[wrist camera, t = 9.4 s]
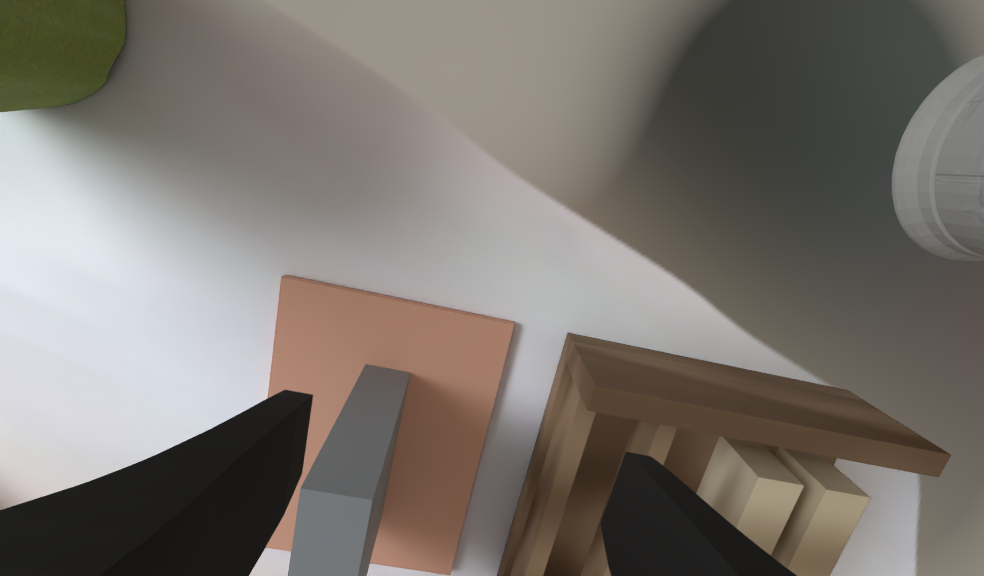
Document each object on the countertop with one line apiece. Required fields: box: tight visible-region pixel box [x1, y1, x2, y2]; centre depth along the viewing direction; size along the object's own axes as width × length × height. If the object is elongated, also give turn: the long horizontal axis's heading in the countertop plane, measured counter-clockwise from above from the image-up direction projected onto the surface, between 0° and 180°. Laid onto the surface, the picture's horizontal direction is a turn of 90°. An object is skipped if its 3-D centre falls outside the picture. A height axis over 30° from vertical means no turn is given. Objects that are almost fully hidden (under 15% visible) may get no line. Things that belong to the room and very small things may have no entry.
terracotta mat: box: [265, 275, 514, 575], centre depth 22 cm, size 14×10×1 cm
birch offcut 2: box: [771, 447, 870, 576], centre depth 21 cm, size 8×2×3 cm, turn 167°
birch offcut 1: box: [696, 436, 804, 555], centre depth 21 cm, size 8×2×3 cm, turn 167°
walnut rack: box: [497, 333, 951, 576], centre depth 21 cm, size 14×14×5 cm
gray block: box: [288, 364, 410, 576], centre depth 18 cm, size 8×2×8 cm, turn 167°
